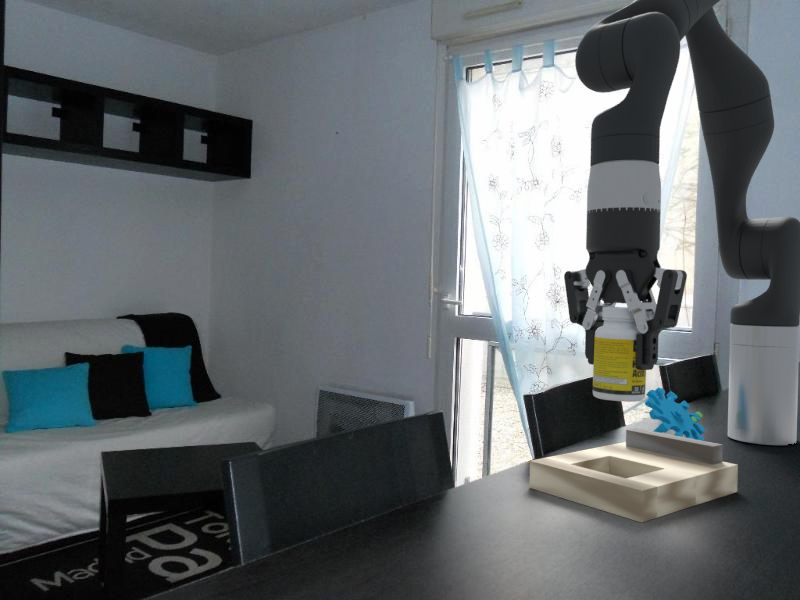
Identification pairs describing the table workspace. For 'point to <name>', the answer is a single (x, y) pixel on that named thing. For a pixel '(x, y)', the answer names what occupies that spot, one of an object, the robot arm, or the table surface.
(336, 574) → the table surface
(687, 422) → the blue lobed piece
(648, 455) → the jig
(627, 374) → the supplement bottle
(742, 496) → the table surface
